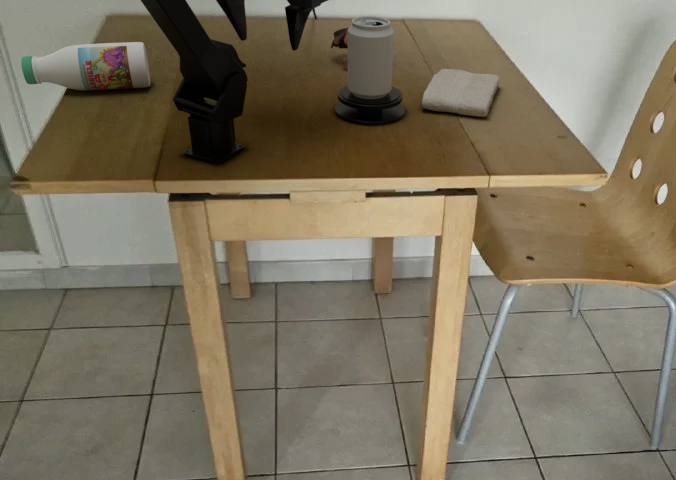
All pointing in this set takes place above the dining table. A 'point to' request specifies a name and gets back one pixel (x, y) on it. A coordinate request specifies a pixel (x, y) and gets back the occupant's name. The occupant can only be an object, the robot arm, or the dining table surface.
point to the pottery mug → (341, 42)
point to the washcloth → (461, 92)
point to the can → (370, 57)
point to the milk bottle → (91, 67)
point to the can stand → (369, 108)
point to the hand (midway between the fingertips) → (269, 44)
